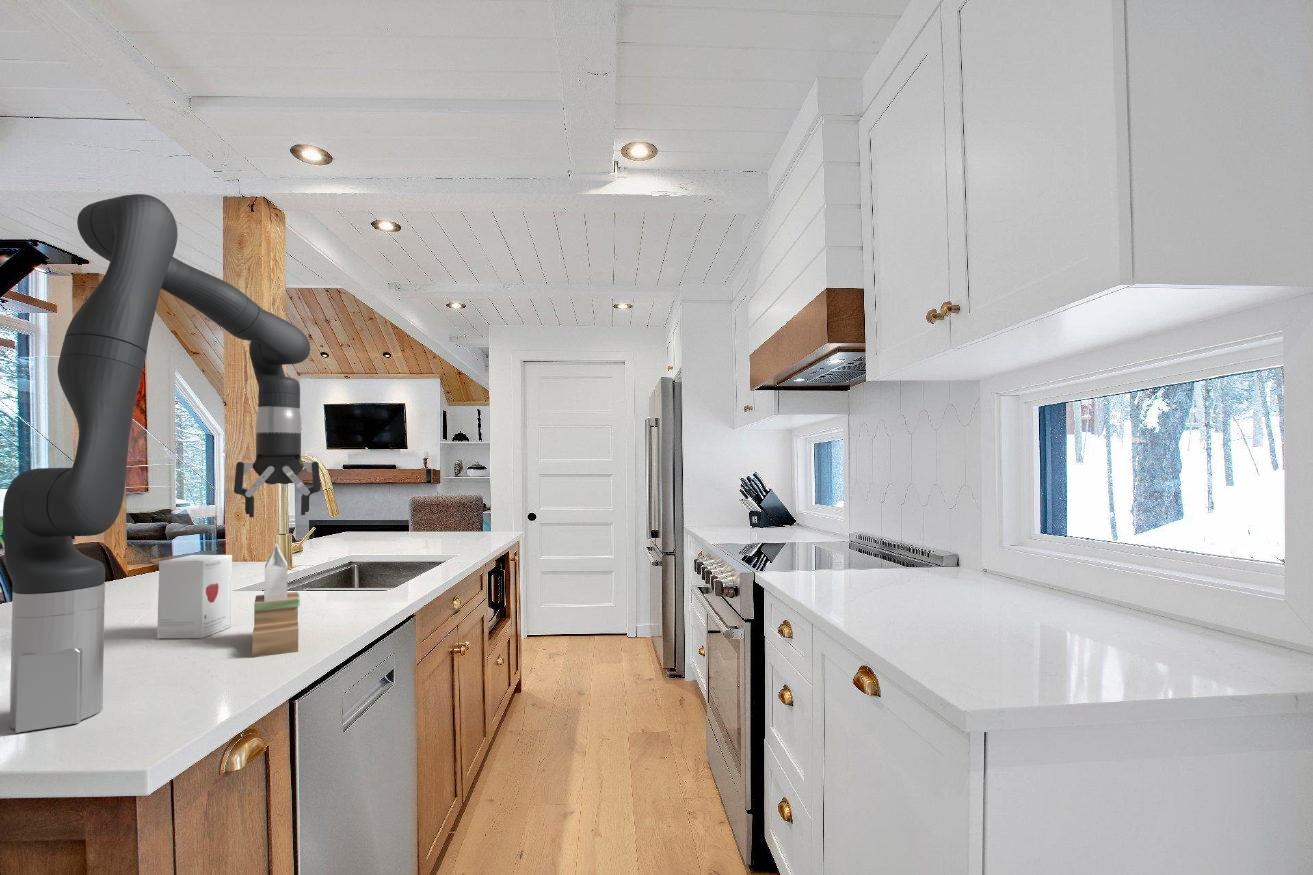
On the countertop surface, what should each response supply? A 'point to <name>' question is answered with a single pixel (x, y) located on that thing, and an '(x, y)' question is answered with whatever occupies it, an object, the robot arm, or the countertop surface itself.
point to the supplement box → (194, 596)
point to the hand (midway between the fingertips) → (277, 516)
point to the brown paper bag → (275, 625)
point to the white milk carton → (275, 576)
